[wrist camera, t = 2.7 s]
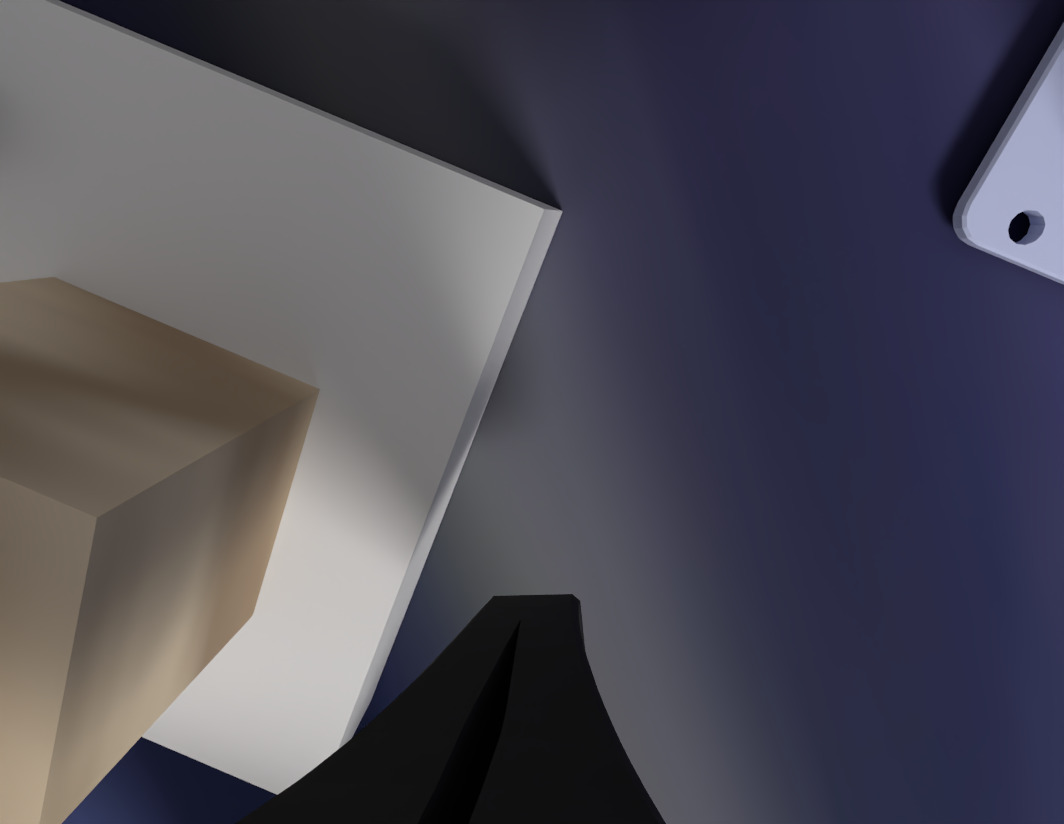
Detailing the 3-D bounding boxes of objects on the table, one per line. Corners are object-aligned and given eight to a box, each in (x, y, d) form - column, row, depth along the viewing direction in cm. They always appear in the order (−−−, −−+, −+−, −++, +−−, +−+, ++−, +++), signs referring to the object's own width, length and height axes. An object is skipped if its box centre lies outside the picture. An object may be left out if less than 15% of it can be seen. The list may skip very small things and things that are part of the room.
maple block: (319, 389, 10) (97, 518, 6) (252, 615, 11) (33, 853, 7) (53, 277, 10) (-367, 321, 6) (19, 515, 11) (-338, 693, 7)
